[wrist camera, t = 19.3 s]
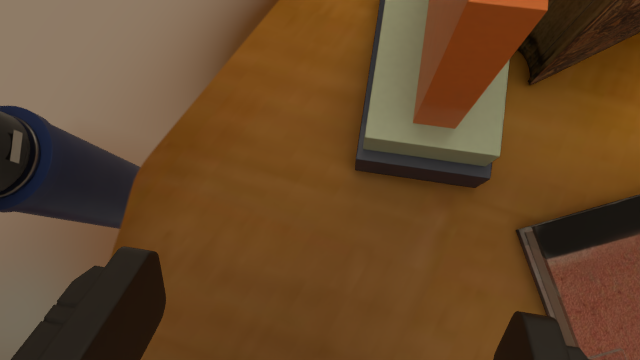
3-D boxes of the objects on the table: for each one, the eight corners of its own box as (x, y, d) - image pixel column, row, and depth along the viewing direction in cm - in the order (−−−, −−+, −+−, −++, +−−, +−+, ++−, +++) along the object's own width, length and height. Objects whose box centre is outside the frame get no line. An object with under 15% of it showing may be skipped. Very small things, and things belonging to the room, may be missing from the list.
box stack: (355, 170, 47) (356, 148, 38) (382, -9, 51) (389, -67, 42) (475, 187, 46) (505, 169, 37) (495, 4, 50) (526, -53, 41)
